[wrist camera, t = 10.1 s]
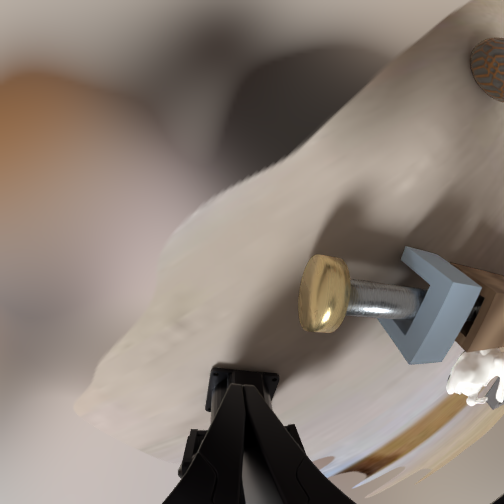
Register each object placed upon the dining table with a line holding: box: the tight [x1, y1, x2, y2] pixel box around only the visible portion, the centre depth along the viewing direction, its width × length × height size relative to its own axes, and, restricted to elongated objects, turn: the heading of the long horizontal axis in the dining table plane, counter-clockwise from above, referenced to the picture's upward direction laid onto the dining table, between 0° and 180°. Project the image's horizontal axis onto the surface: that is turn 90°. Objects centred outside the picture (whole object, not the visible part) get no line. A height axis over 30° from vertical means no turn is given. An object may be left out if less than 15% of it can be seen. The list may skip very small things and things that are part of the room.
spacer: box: [377, 246, 482, 365], centre depth 19 cm, size 4×7×6 cm, turn 168°
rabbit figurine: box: [446, 348, 504, 406], centre depth 24 cm, size 12×8×10 cm, turn 150°
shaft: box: [298, 254, 485, 333], centre depth 19 cm, size 20×5×5 cm, turn 79°
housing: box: [450, 262, 504, 352], centre depth 21 cm, size 16×6×7 cm, turn 79°
